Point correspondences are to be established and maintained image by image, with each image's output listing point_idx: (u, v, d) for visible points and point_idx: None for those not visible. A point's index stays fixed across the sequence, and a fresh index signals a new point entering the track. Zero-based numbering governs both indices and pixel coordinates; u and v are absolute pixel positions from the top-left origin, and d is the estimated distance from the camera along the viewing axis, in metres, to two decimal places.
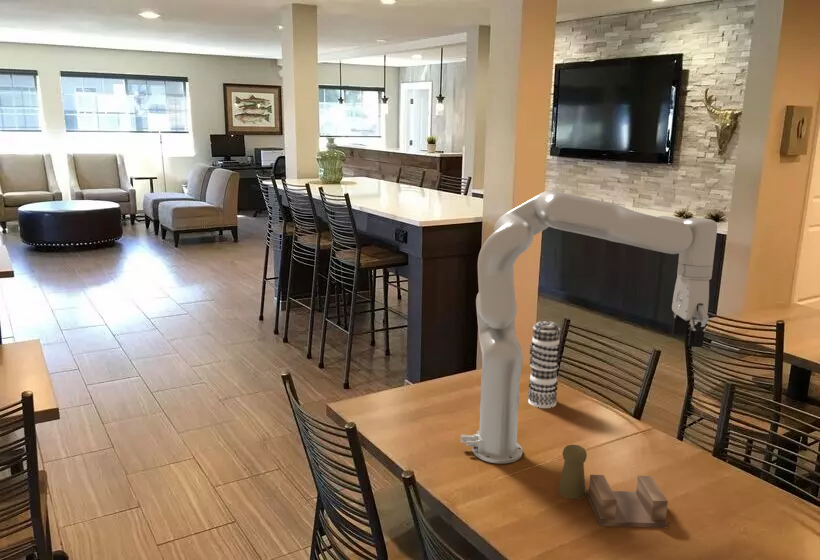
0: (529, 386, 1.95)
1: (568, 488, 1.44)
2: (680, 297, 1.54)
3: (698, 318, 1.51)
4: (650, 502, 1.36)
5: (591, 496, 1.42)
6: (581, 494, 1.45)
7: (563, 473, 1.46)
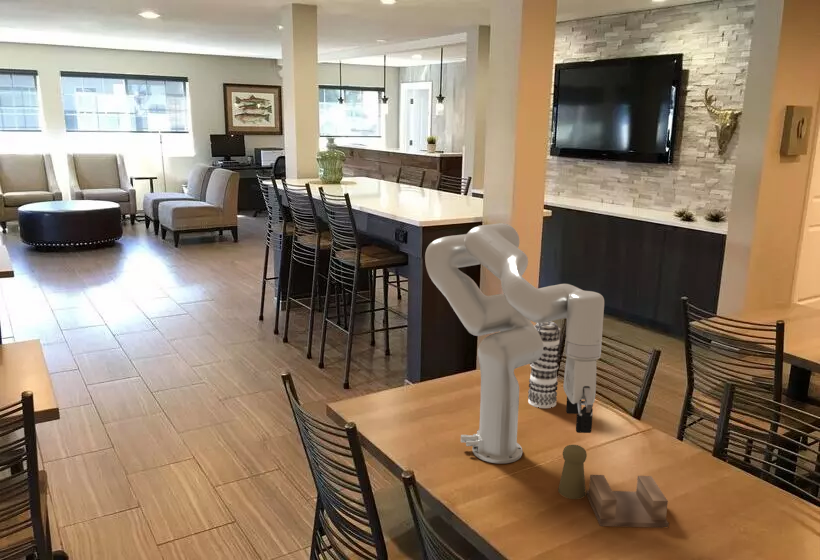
0: (529, 386, 1.95)
1: (568, 488, 1.44)
2: (568, 377, 1.41)
3: None
4: (650, 502, 1.36)
5: (591, 496, 1.42)
6: (581, 494, 1.45)
7: (563, 473, 1.46)
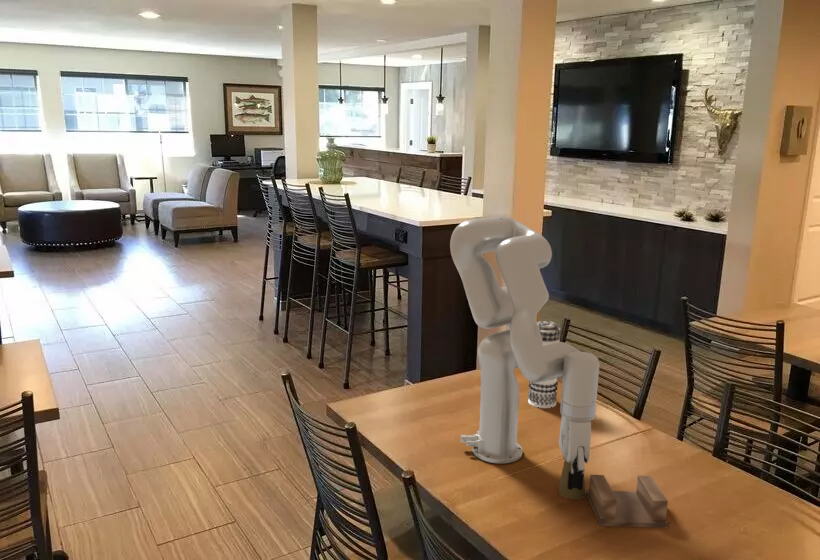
0: (529, 386, 1.95)
1: None
2: (563, 435, 1.44)
3: None
4: (650, 502, 1.36)
5: (591, 496, 1.42)
6: (581, 494, 1.45)
7: (563, 473, 1.46)
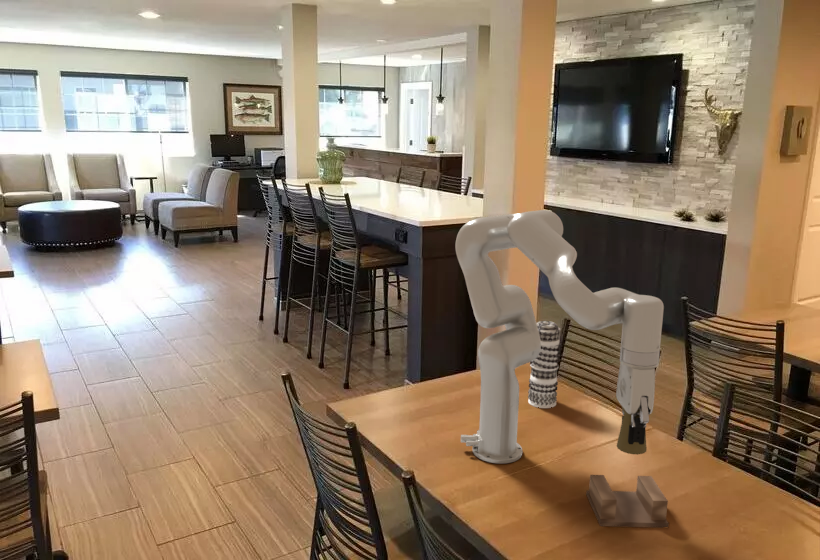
0: (529, 386, 1.95)
1: (628, 443, 1.34)
2: (623, 385, 1.34)
3: None
4: (650, 502, 1.36)
5: (591, 496, 1.42)
6: (642, 449, 1.34)
7: (623, 427, 1.35)
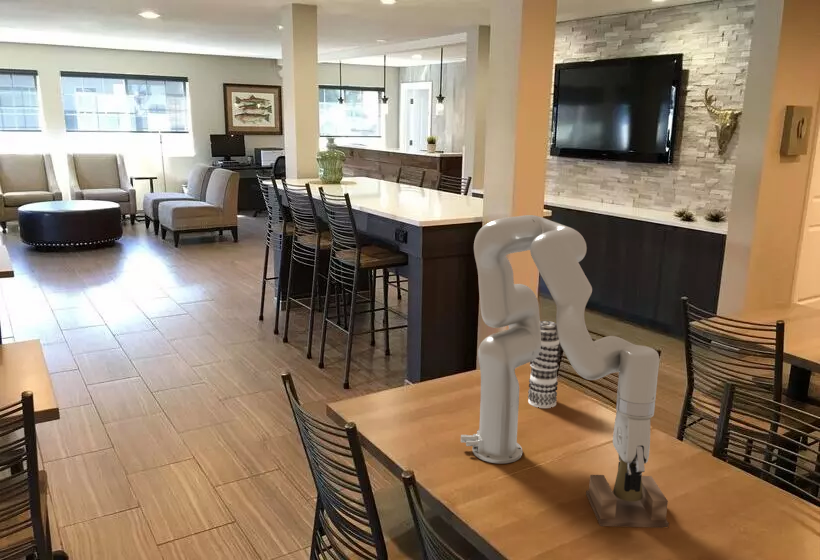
0: (529, 386, 1.95)
1: (624, 490, 1.36)
2: (619, 434, 1.36)
3: None
4: (650, 502, 1.36)
5: (591, 496, 1.42)
6: (638, 496, 1.37)
7: (619, 474, 1.38)
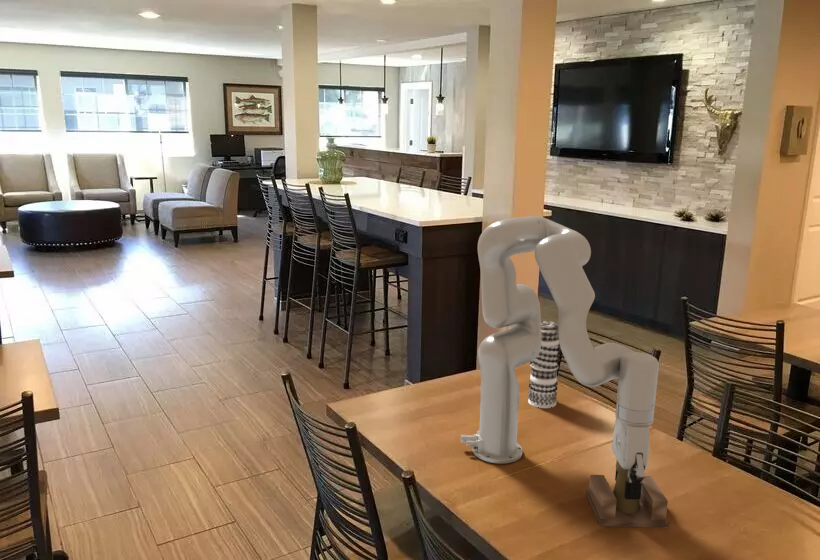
0: (529, 386, 1.95)
1: (621, 502, 1.37)
2: (619, 440, 1.36)
3: (636, 469, 1.34)
4: (650, 502, 1.36)
5: (591, 496, 1.42)
6: (636, 508, 1.37)
7: (616, 486, 1.39)
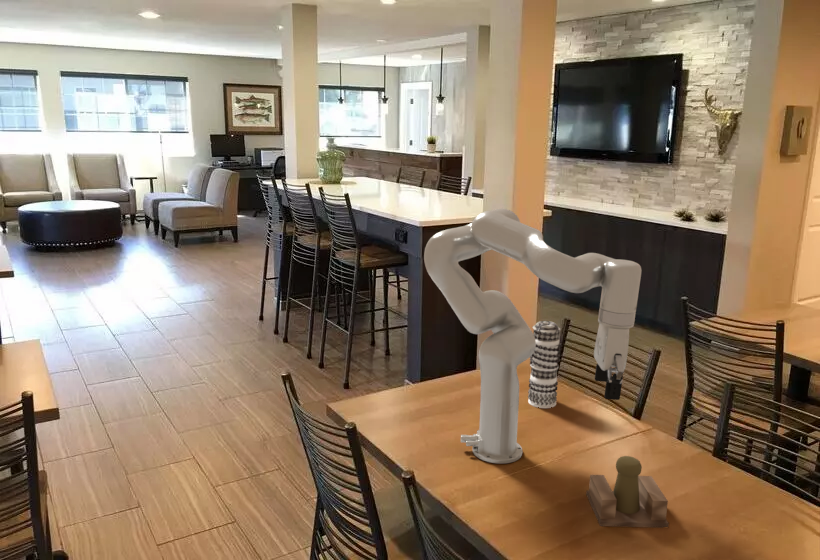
0: (529, 386, 1.95)
1: (621, 502, 1.37)
2: (600, 344, 1.42)
3: (616, 369, 1.39)
4: (650, 502, 1.36)
5: (591, 496, 1.42)
6: (636, 508, 1.37)
7: (616, 486, 1.39)
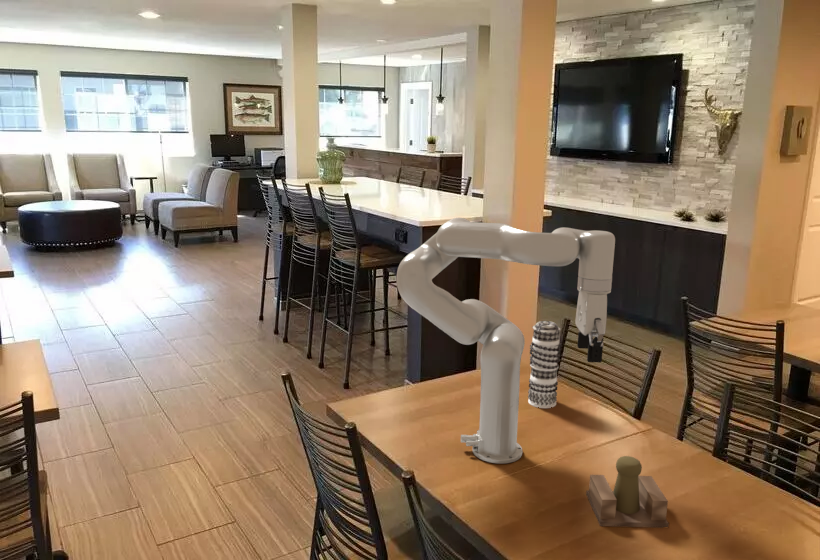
0: (529, 386, 1.95)
1: (621, 502, 1.37)
2: (580, 311, 1.51)
3: (596, 333, 1.48)
4: (650, 502, 1.36)
5: (591, 496, 1.42)
6: (636, 508, 1.37)
7: (616, 486, 1.39)
